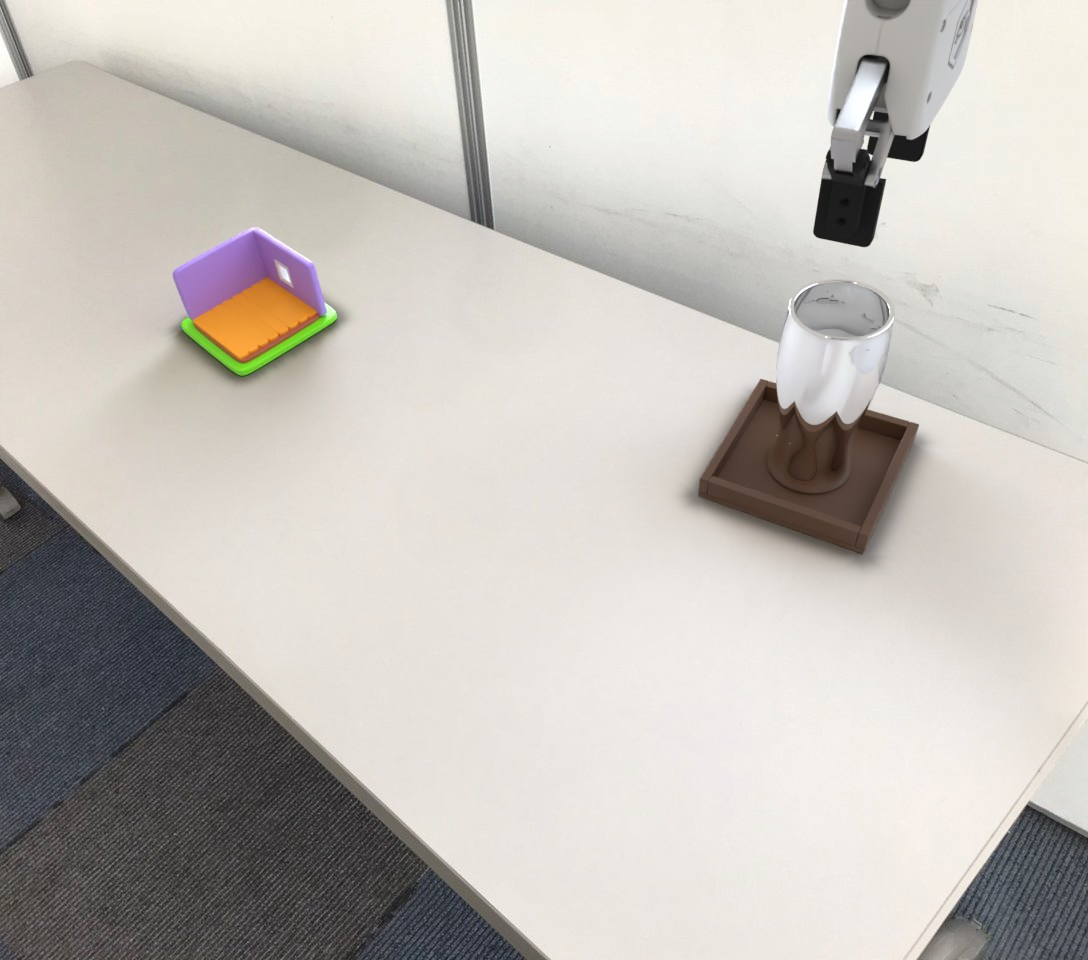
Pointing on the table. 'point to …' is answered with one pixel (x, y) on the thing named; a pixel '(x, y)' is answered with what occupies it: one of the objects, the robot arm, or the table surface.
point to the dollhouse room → (251, 300)
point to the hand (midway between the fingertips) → (869, 196)
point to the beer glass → (827, 379)
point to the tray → (827, 516)
